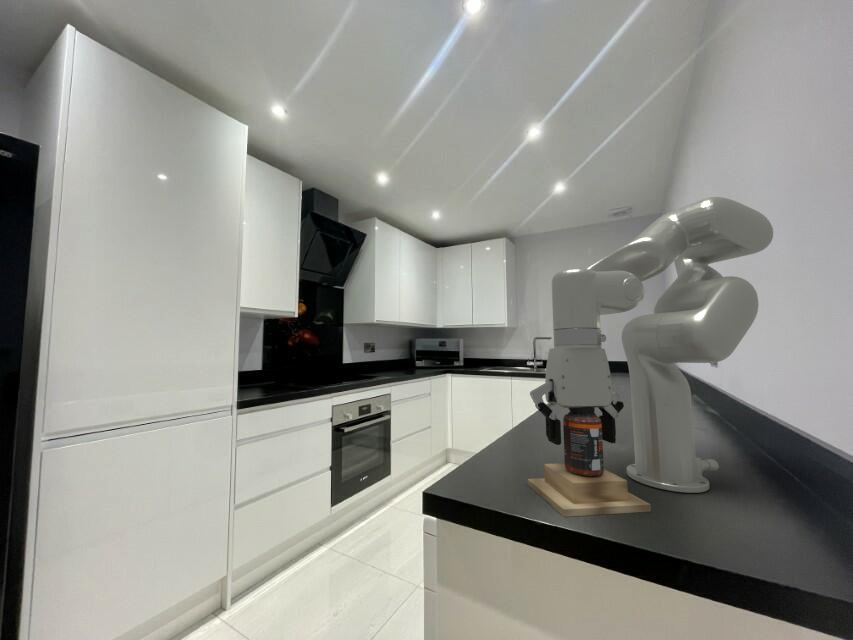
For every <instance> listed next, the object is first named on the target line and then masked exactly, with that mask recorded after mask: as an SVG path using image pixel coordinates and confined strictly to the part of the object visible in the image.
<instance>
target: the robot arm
mask: <svg viewBox="0 0 853 640" xmlns="http://www.w3.org/2000/svg"><path fill="white" fill-rule="evenodd" d="M773 238H774V228H773V225H772V223H771V222H770V220H769V219H768V217H766V216H765V215H764V214H763V213H761V212H760V211H758V210H756V209H754V208H751V207H749V206H748V205H746V204H743V203H741V202H738V201H736V200H733V199H730V198H726V197H723V196H722V197H721V196H711V197H707V198H703V199H700V200H699V201H698V200H697V201H695V202H693V203H691V204H688V205H684V206H683V207H680V208H678V209H674V210H672V211H669V212H667V213H665V214H662V215H661V216H659V217H658V218H657V219H655V220H654V221H653V222H652V223H650V225H648V226H647V227H646V228H645V229H644V230H643V231H642V232H640V233H639V234H638V235H637V236H636V237H635V238H633V239H632V240H631V241H630V242H628V243H626V244H625V245H623V246H621V247H619V248H618V249H616V250H615V251H613V252H611V253H610V254H608V255H607V256H605V257H603V258H602V259H600V260H598V261H597V262H595V263H594V264H592V265H590V266H588V267H587V268H569V269H565V270H561V271H558V272H557V273H555V274H554V275H553V277H552V279H551V302H552V323H553V325H552V326H553V327H552V328H553V330H552V331H553V347H552V348H549V350H548V354H547V359H546V366H545V367H546V368H545V382H544V383H543V384H541V385H539V386H538V387H536V388H534V389H532V390H531V391H530V392H529V395H530V397H531V399H532V402H533V403H534V406H535V408H536V409H537V410H538V411H539V412H540V413H541V414H542V416H543V417H544V418H545V436H546V437H547V440H548V442H549V443H552V444H553V445H556V446H560V445H561V444H562V425H561V422H562V421H561V420H560V419H558V417H559V416H560V414H561V413H562V411H563V410H564V408H566V409H567V408H582V407H588V406H590V407H593V408H594V409H597V410H598V411H599V412H600V413H601V415H599V416H598V417H599V418H600V419H601V423H602V441H605V442H606V443H607V442H608V443H610V444H616V442H617V441H616V440H617V439H616V438H617V437H616V435H617V431H616V428H617V427H616V419H618V418H619V413H620V412H621V411H622V410H623V409H624V406H625V405H624V404H625V402H626V399H627V397H628V392H627V390H625V389H623V388H621V387H620V386H617V385H616V384H614V383H612V377H611V376H612V375H611V370H610V365H609V360H608V356H607V353H606V350H605V348H602V343H605V342H606V341H607V336H606V335H605V334H602V330H601V316H604V315H607V316H608V315H611V314H612V315H614V314H620V313H626V312H629V311H631V310H634V309H635V308H637V307H638V306H639V305H640V304H641V302H642V301H643V299H644V296H645V287H644V284H643V282H645V281H647V280H649V279H651V278H653V277H656V276H658V275H660V274H661V273H663V272H665V271H666V269H667V268H669V266H671V264H673V262H674V267H675V271H676V274H677V277H676V279H674V281H673V282H672V283H671V284H670V285H669V286H668V288H667V289H666V290H665V291H664V292H663V293H662V294H661V295H660V297H659V298H658V300H657V301H656V303H655V305H654V309H653V313H651V314H645V315H640V316H637V317H634V318H632V319H630V320H629V321H628V322H627V323H626V324H625V325H624V327H623V328H622V331H621V343H622V347H623V351H624V354H625V358H626V362H627V366H628V372H629V373H628V375H629V382H630V383H629V384H630V399H631V400H630V402H631V416H632V431H633V432H632V434H633V448H634V463H632V464H629V465H627V466H626V474H627V475H628V477H629V478H631V479H632V480H634V481H635V482H638V483H641V484H643V485H646V486H649V487H653V488H656V489H660V490H664V491H665V490H666V491H669V492H677V493H685V494H691V493H692V494H696V493H699V494H700V493H704V492H707V491H708V490H710V489H711V488H710V487H711V486H710V481H709V480H708V478H706V477H704V476H703V473H704V472H705V471H708V472H709V471H710V472H711V471H717V470H719V468H720V467H719V463H718V462H717V461H716V460H715V459H712V458H710V459H702V458H700V457H697V456H696V455H697V454H696V453H697V452H696V444H695V431H694V421H693V420H694V419H693V406H692V392H691V391H692V390H691V387H690V384H689V381H688V379H687V378H686V376H685V375H684V374H683V372H682V371H681V370H680V369H679V367H678V366H677V364H678V363H681V364H685V363H687V364H692V363H693V364H710V363H711V364H714V363H718V362H721V361H722V362H723V361H724V360H726V359H727V358H729V357H730V356H731V355H732V353H734V351H735V350H736V349H737V347H738V346H739V344H740V343H741V341H742V340H743V338H744V337H745V335H747V333H748V331H749V329H750V328H751V327H752V325H753V323H754V322H755V320H756V318H757V314H758V312H759V311H758V310H759V296H758V293H757V290H756V289H755V287H754V286H753V284H752V283H751V282H750V281H748V280H747V279H744V278H742V277H739V276H723V275H722V274H721V273H720V272H719V271H718V270H716V269H715V268H713V267H712V266H710V264H714V263H719V262H722V261H726V260H727V261H728V260H732V259H736V258H740V257H745V256H750V255H754V254H758V253H760V252H762V251H763V250H765V249H766V248H768V247H769V246H770V244H771V243H772V241H773ZM613 395H614V397H613ZM543 396H545V401H546V402H547V403H546V402H544V399H543Z"/></svg>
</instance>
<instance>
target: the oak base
mask: <svg viewBox="0 0 853 640" xmlns="http://www.w3.org/2000/svg"><path fill="white" fill-rule="evenodd" d="M543 467H544V468H543V469H544V473H543V474H544V477H542V478H541V477H540V478H527V486H529V488H530V489H532V490H533V491H534V492H536V493H537V495H539V496H540V497H541V498H542V499H544V500H545V501H546V502H547V503H548V504H549V505H550V506H552V508H553V509H555V510H556V512H558V513H559V514H560V515H561V516H562V517H563V518H567V517H582V516H586V517H587V516H599V515H613V514H614V515H615V514H616V515H617V514H630V513H631V514H633V513H648V512H652V505H651V504H650V503H649V502H647V501H645V500H643V499H642V498H640V497H638V496H636V495H634V494H632V493H630V492H629V491H628V490H629V489H628V481H627V479H625V478H623V477H621V476H619V475H617V474H615V473H613V472H611V471H610V470H606V468H604V472H603V474H602V475H600V476H583V475H578V474H574V473H572V472H570V471H568V470H567V469H566V468H565V462H560V463H559V462H558V463H543Z"/></svg>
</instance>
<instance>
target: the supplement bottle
mask: <svg viewBox="0 0 853 640" xmlns="http://www.w3.org/2000/svg"><path fill="white" fill-rule="evenodd" d="M595 409H596V408H593V407H590V406H588V407H582V408H568V410H569V411H568V413H567V414H564V416H563V418H562V421H563V422H562V424H563V426H562V427H563V428H562V429H563V431H562V433H563V453H564V456H563V457H564V463H565V468H566V469H567V470H568V471H570V472H572V473H574V474H578V475H583V476H600V475H602V474H603V472H604V469H605V467H604V466H605V464H604V447H603V445H604V444H603V443H604V442H603V440H602V423H601V419H600V418H599V416H598V415H597V413H596V411H595Z"/></svg>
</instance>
